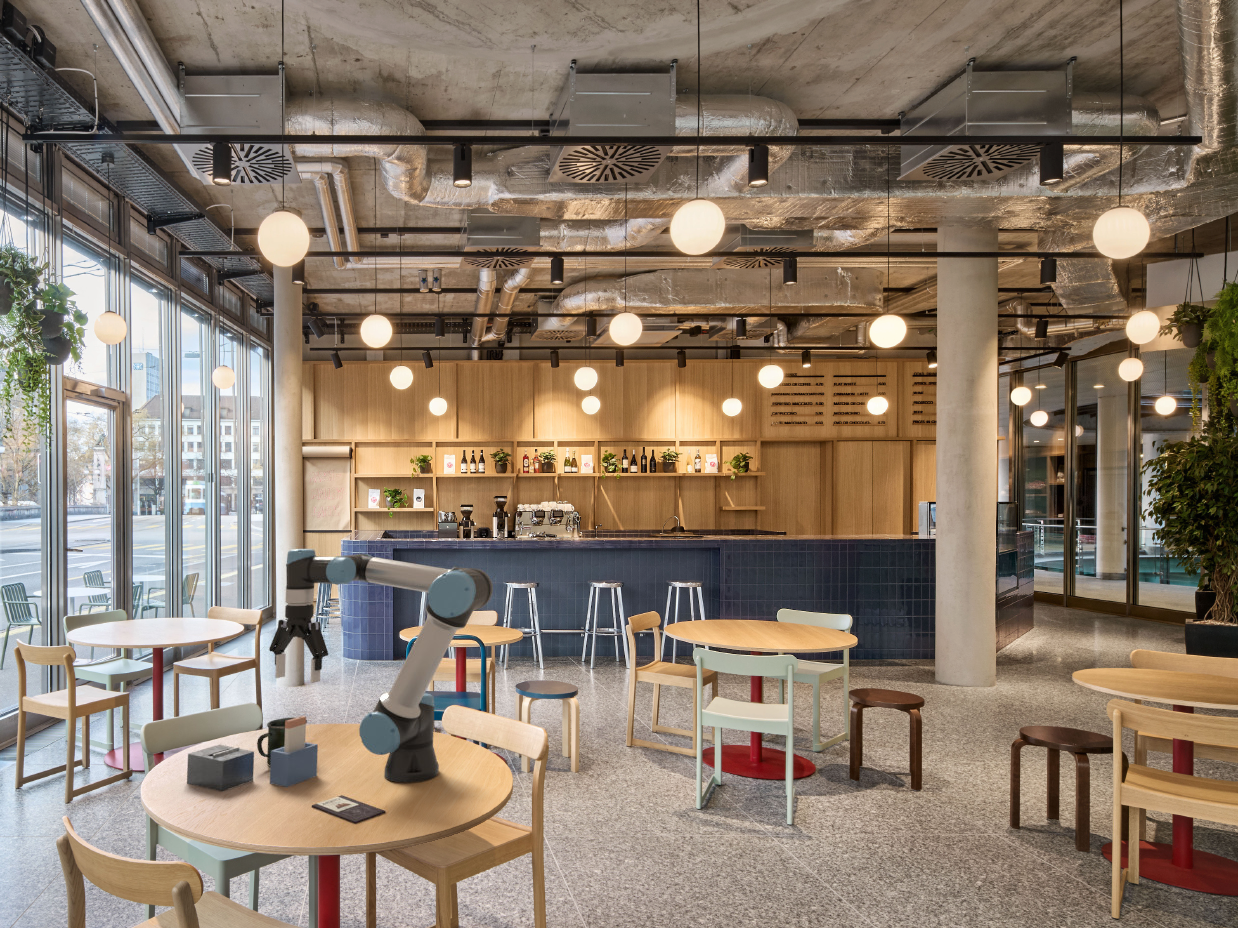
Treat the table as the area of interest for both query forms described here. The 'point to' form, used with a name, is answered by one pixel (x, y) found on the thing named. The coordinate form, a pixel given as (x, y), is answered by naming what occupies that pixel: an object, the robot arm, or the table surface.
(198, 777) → the dispenser
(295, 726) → the ticket
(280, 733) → the mug
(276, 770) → the blue open box
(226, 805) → the table surface
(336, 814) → the chocolate bar
